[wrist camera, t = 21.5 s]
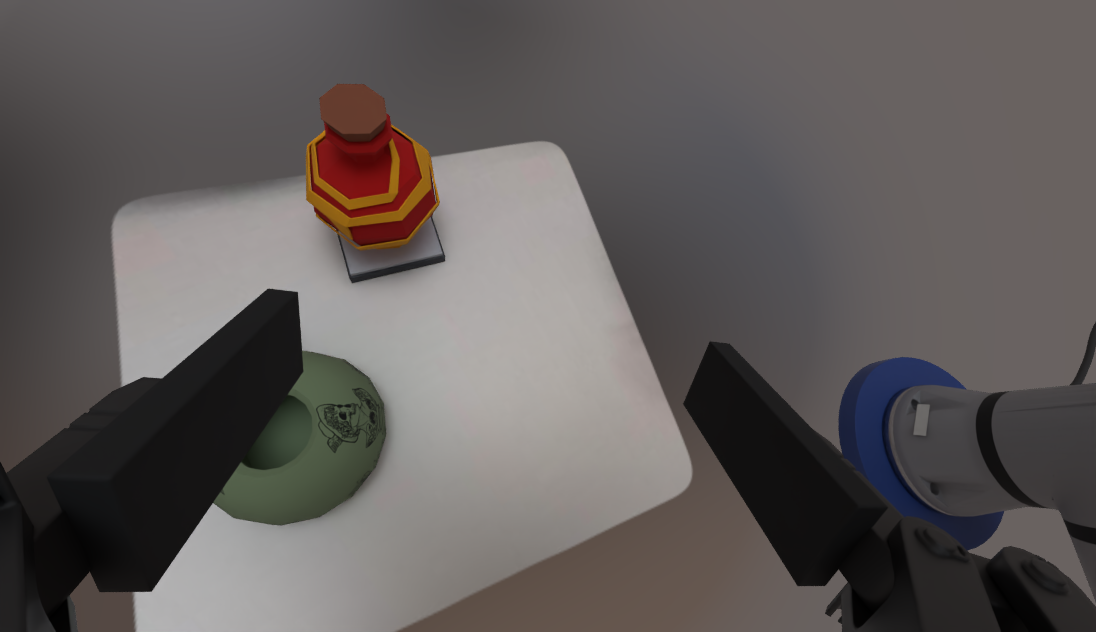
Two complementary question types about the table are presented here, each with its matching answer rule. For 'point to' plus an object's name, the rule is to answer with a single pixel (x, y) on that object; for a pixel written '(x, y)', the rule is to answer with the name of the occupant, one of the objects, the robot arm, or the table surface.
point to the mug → (310, 447)
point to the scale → (393, 255)
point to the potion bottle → (368, 172)
